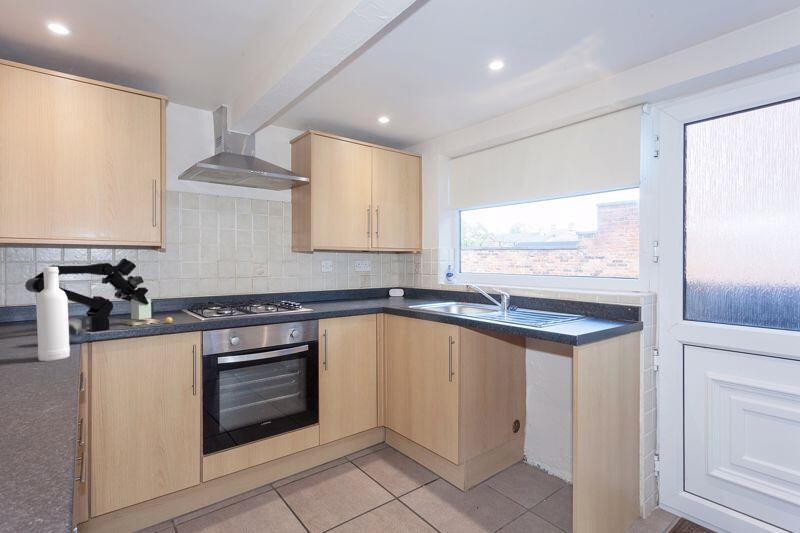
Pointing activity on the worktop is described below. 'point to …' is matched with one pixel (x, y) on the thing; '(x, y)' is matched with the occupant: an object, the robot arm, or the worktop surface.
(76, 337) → the small box
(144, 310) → the pale green block
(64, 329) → the bottle
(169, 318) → the marble
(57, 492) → the worktop surface
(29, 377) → the worktop surface
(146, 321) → the trivet
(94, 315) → the robot arm
